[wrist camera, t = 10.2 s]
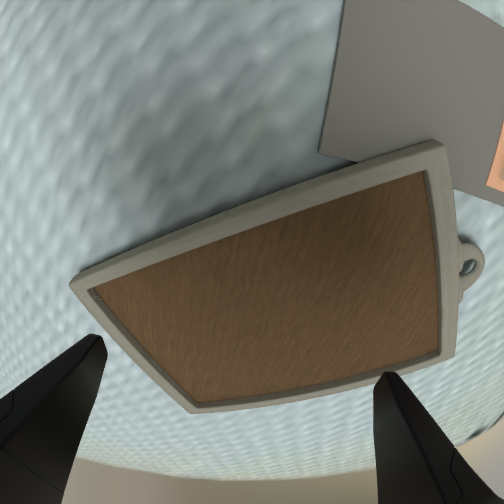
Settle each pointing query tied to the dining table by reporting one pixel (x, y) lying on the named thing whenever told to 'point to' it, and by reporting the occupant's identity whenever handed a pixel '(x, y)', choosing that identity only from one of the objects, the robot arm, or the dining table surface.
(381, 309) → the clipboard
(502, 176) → the beige rectangular block
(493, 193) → the mat
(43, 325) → the dining table surface
